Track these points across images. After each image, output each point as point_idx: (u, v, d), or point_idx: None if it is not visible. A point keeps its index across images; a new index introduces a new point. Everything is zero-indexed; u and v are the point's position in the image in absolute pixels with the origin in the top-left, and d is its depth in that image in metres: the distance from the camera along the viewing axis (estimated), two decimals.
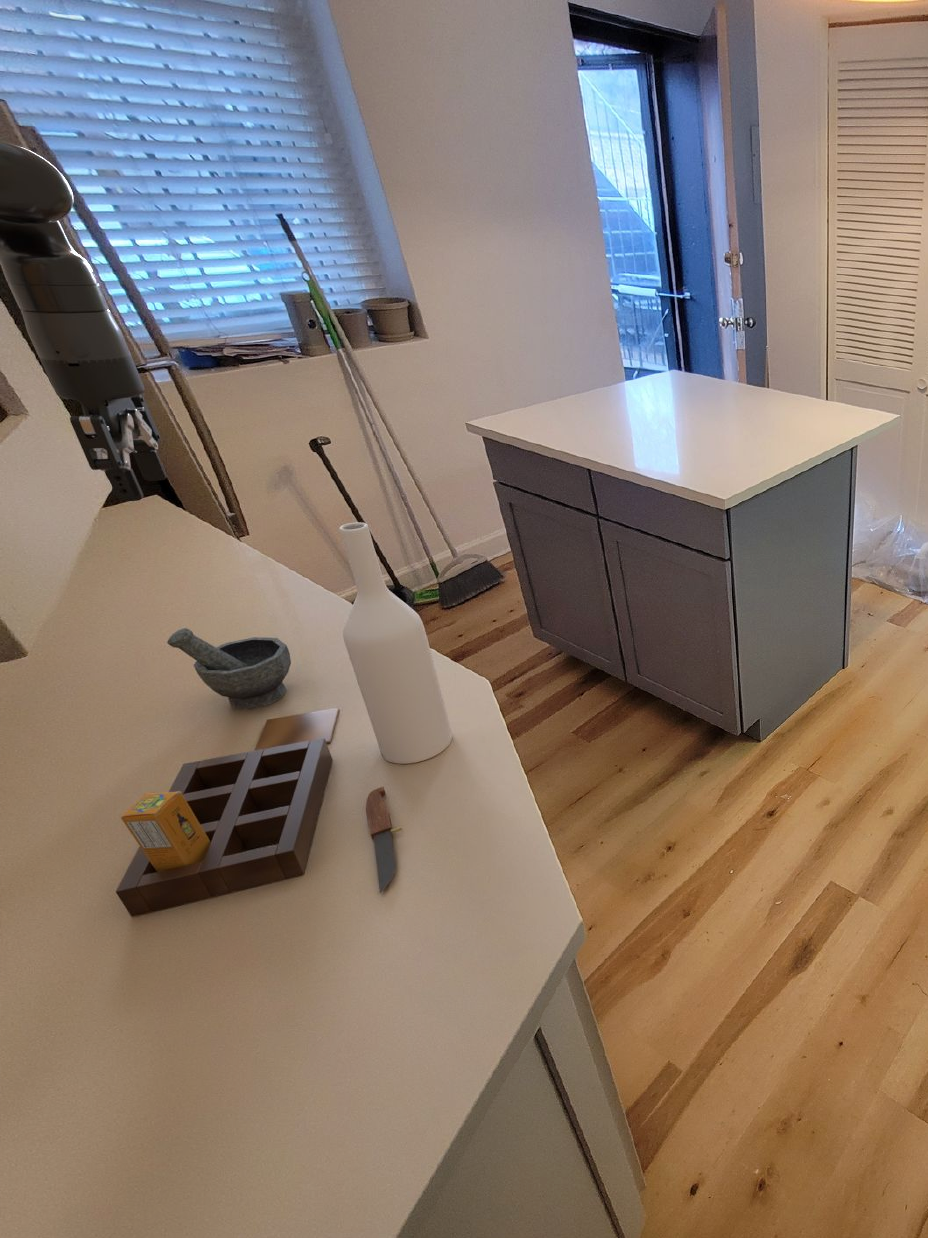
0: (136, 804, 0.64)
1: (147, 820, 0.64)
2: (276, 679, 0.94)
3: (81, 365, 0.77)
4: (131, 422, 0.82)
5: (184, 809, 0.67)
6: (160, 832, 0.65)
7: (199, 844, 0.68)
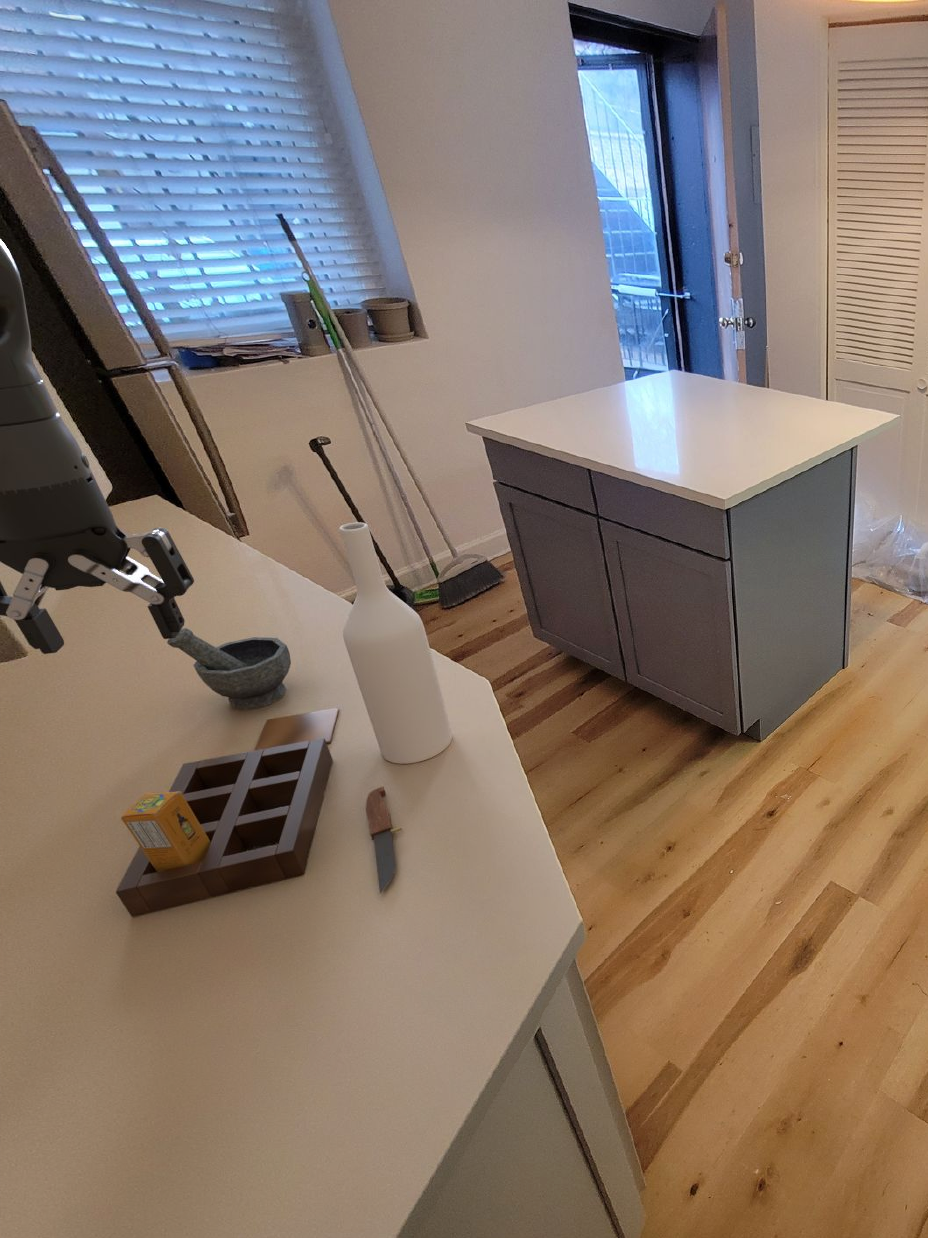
0: (136, 804, 0.64)
1: (147, 820, 0.64)
2: (276, 679, 0.94)
3: (92, 478, 0.59)
4: None
5: (184, 809, 0.67)
6: (160, 832, 0.65)
7: (199, 844, 0.68)
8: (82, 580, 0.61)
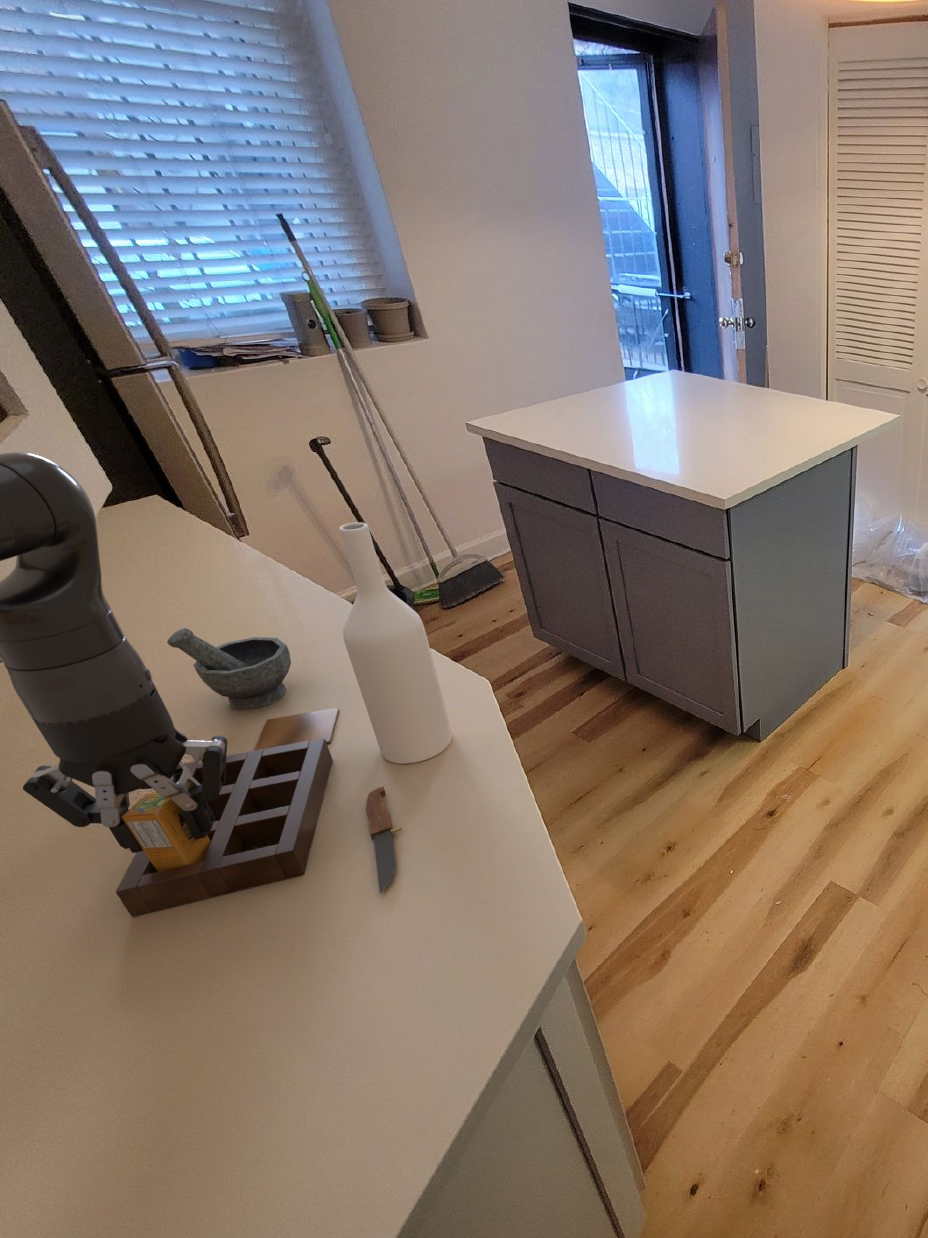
0: (137, 804, 0.65)
1: (148, 820, 0.64)
2: (276, 679, 0.94)
3: (154, 689, 0.61)
4: None
5: None
6: (161, 832, 0.65)
7: (200, 844, 0.68)
8: (142, 784, 0.63)
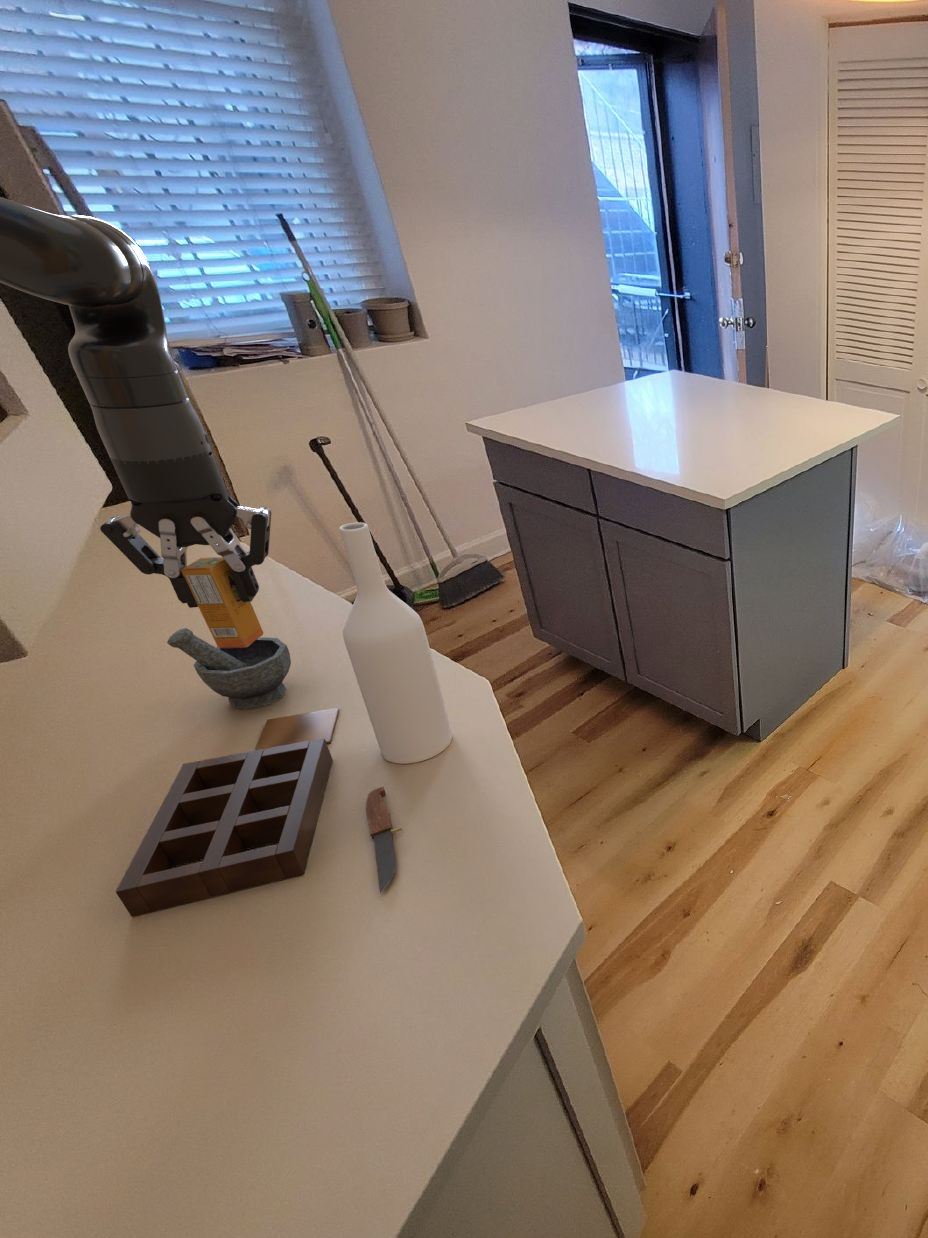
0: (193, 563, 0.74)
1: (203, 574, 0.73)
2: (276, 679, 0.94)
3: (212, 452, 0.71)
4: None
5: None
6: (214, 588, 0.74)
7: (245, 609, 0.78)
8: (199, 539, 0.72)
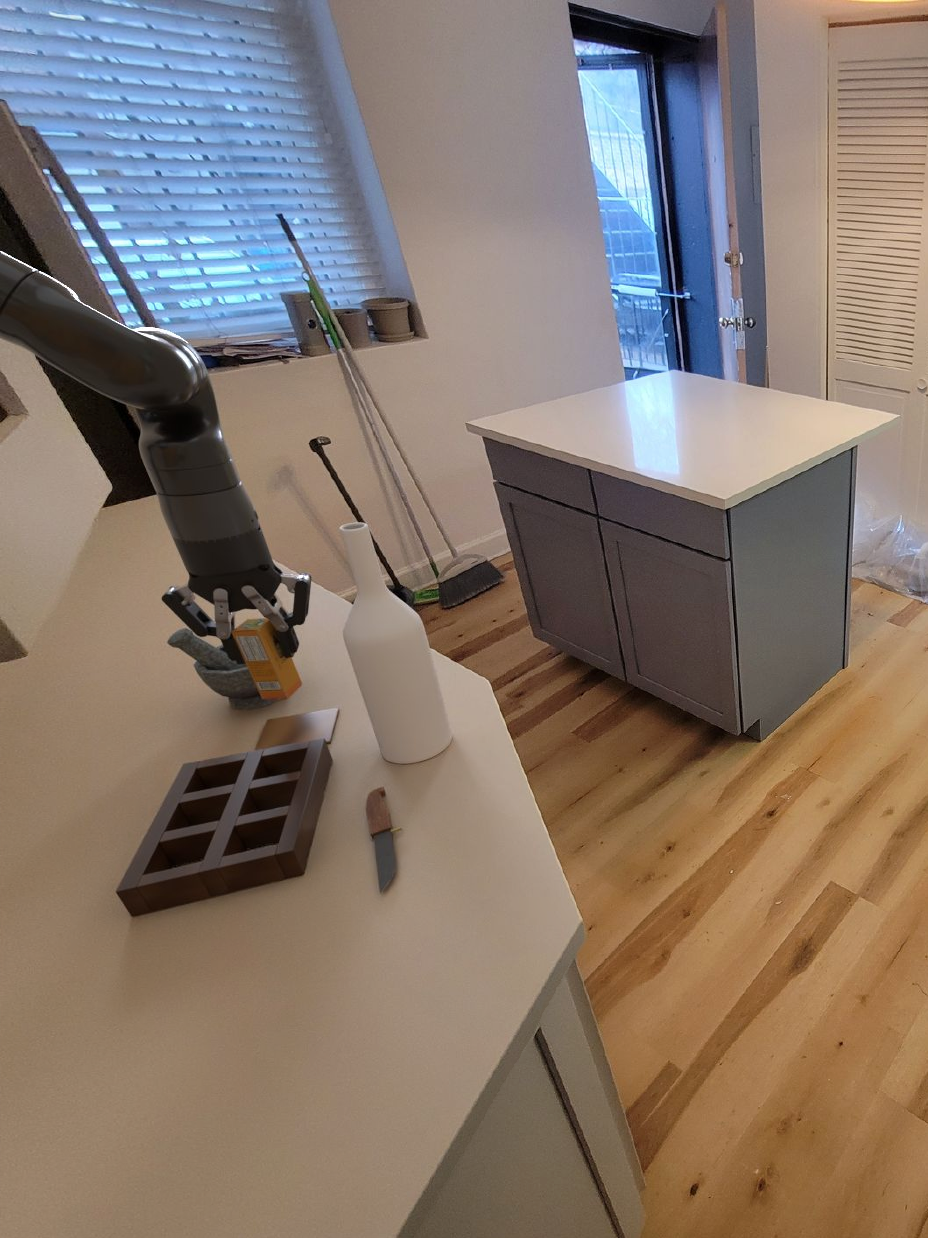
0: (242, 624, 0.82)
1: (251, 635, 0.81)
2: None
3: (260, 527, 0.78)
4: None
5: None
6: (260, 647, 0.82)
7: (287, 664, 0.85)
8: (248, 604, 0.80)
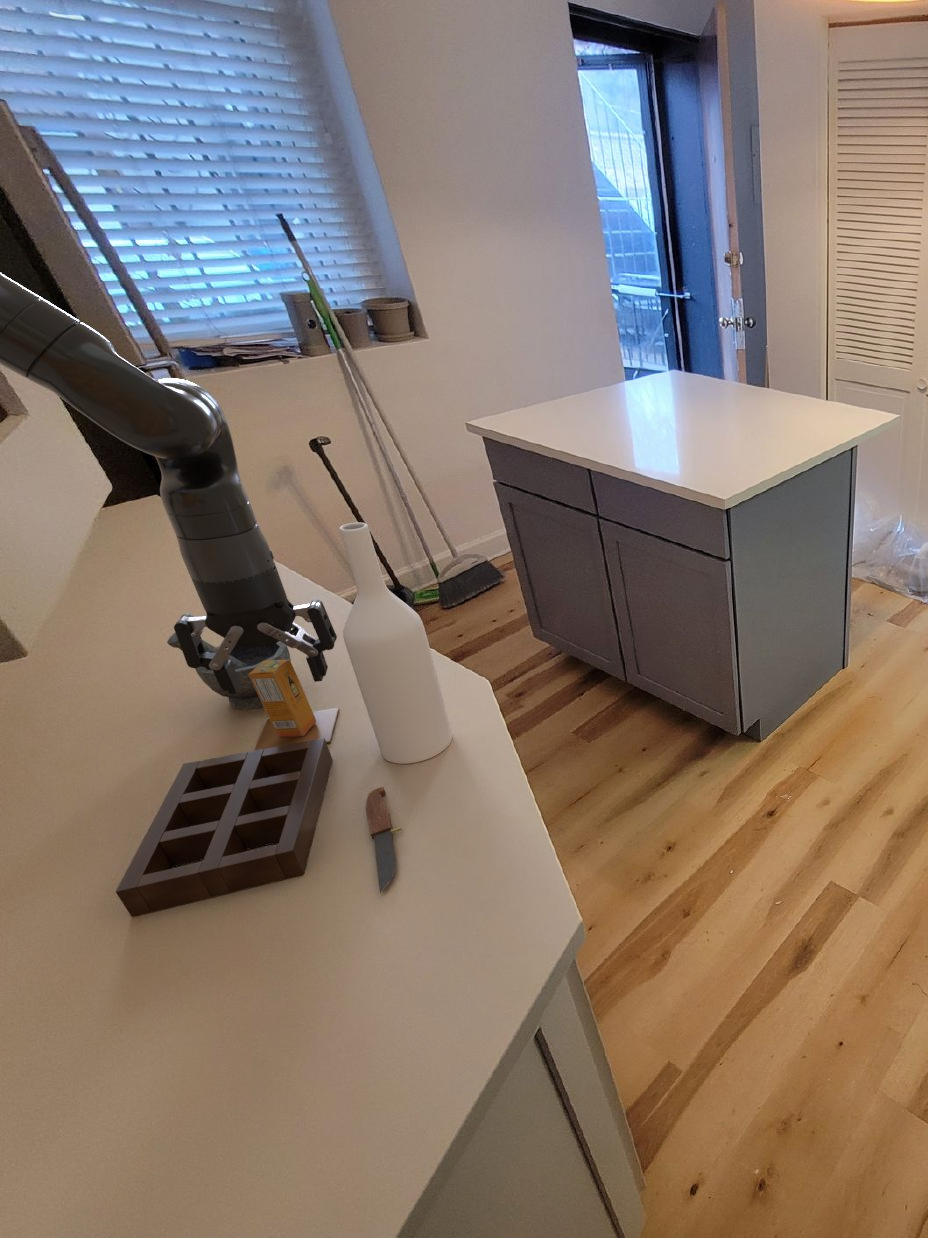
0: (258, 667, 0.85)
1: (267, 678, 0.84)
2: None
3: (275, 566, 0.81)
4: None
5: (292, 674, 0.87)
6: (276, 688, 0.85)
7: (302, 703, 0.88)
8: (263, 640, 0.82)
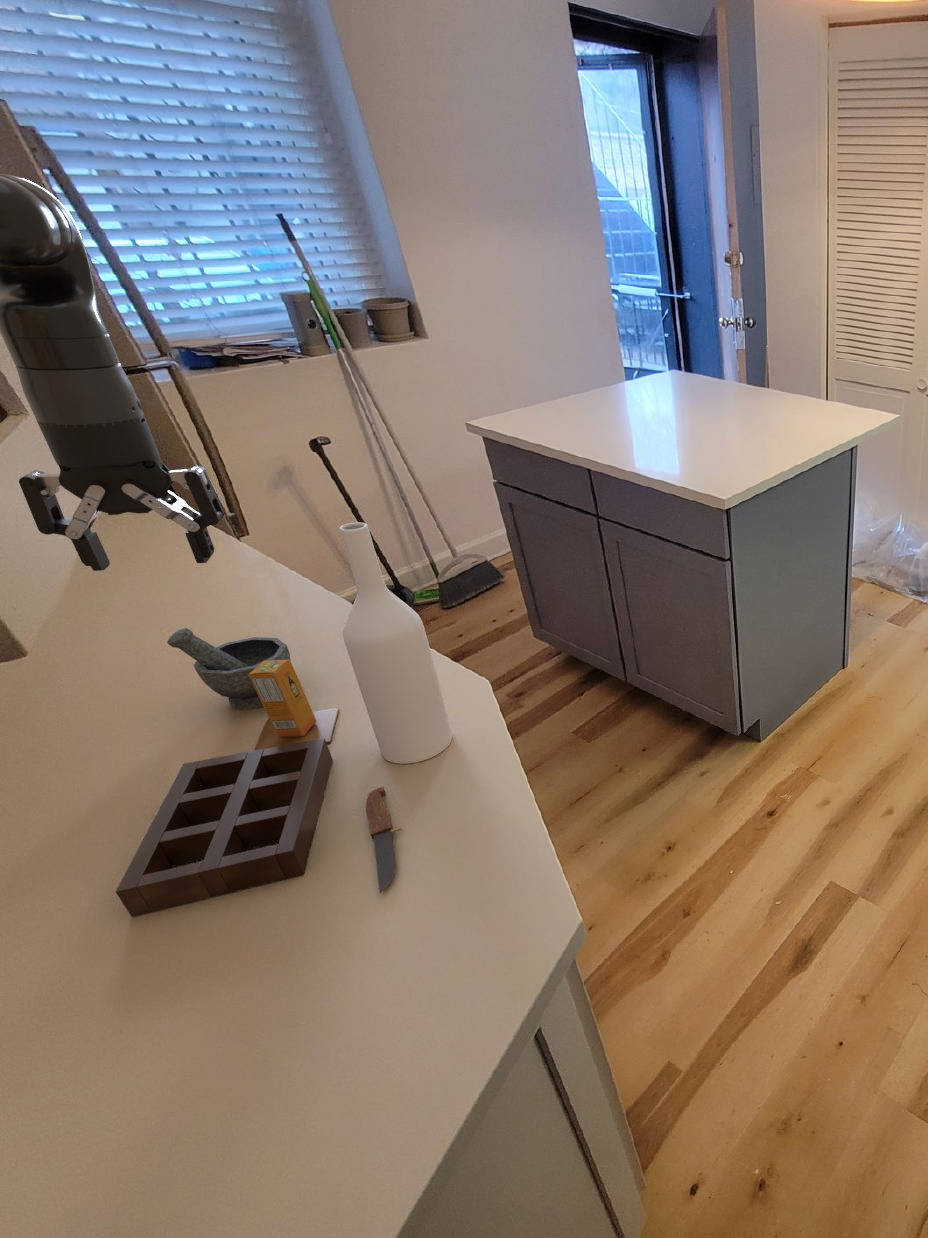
0: (258, 667, 0.85)
1: (267, 678, 0.84)
2: None
3: (145, 419, 0.70)
4: None
5: (292, 674, 0.87)
6: (276, 688, 0.85)
7: (302, 703, 0.88)
8: (131, 507, 0.71)
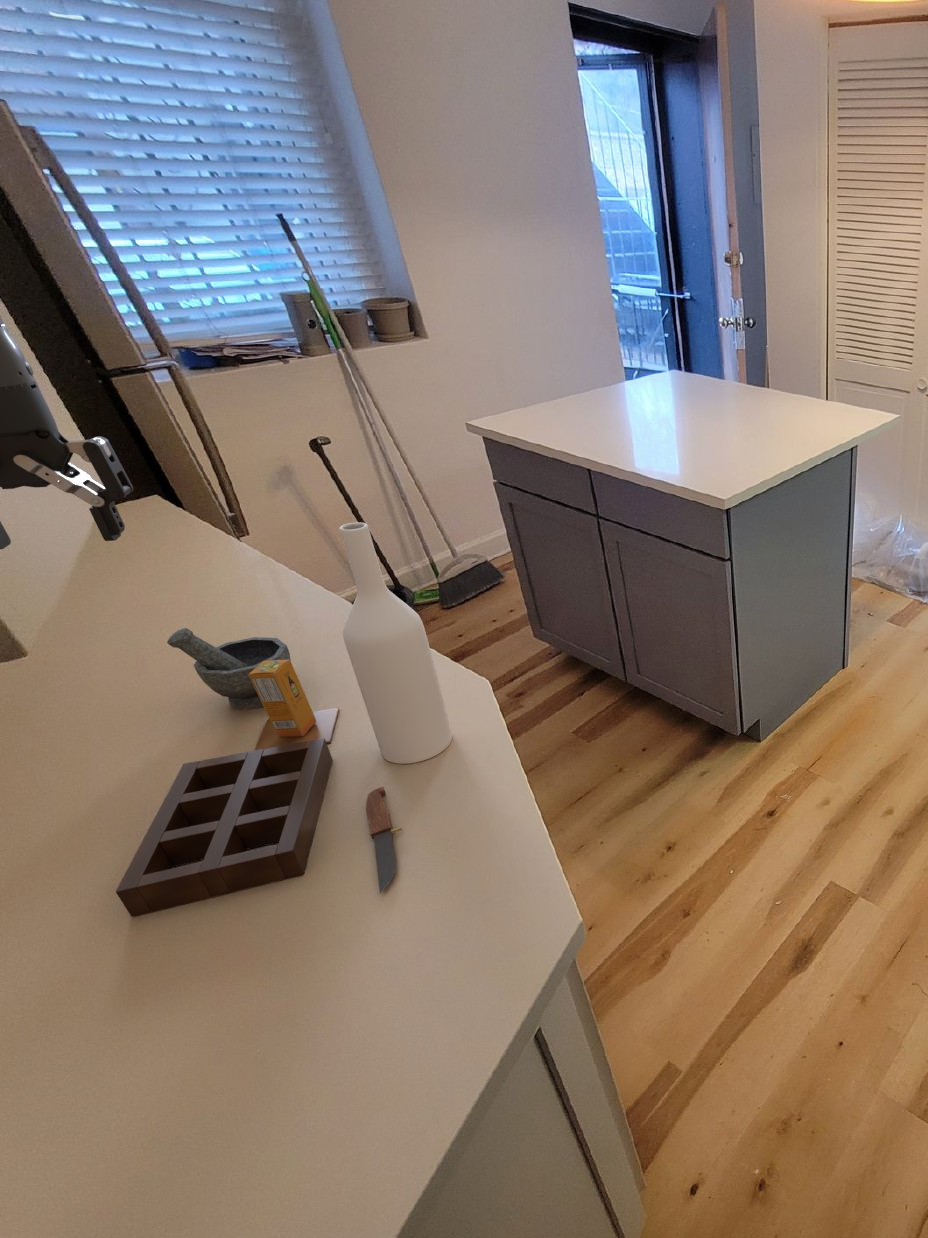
0: (258, 667, 0.85)
1: (267, 678, 0.84)
2: None
3: (36, 386, 0.66)
4: None
5: (292, 674, 0.87)
6: (276, 688, 0.85)
7: (302, 703, 0.88)
8: (27, 480, 0.67)
